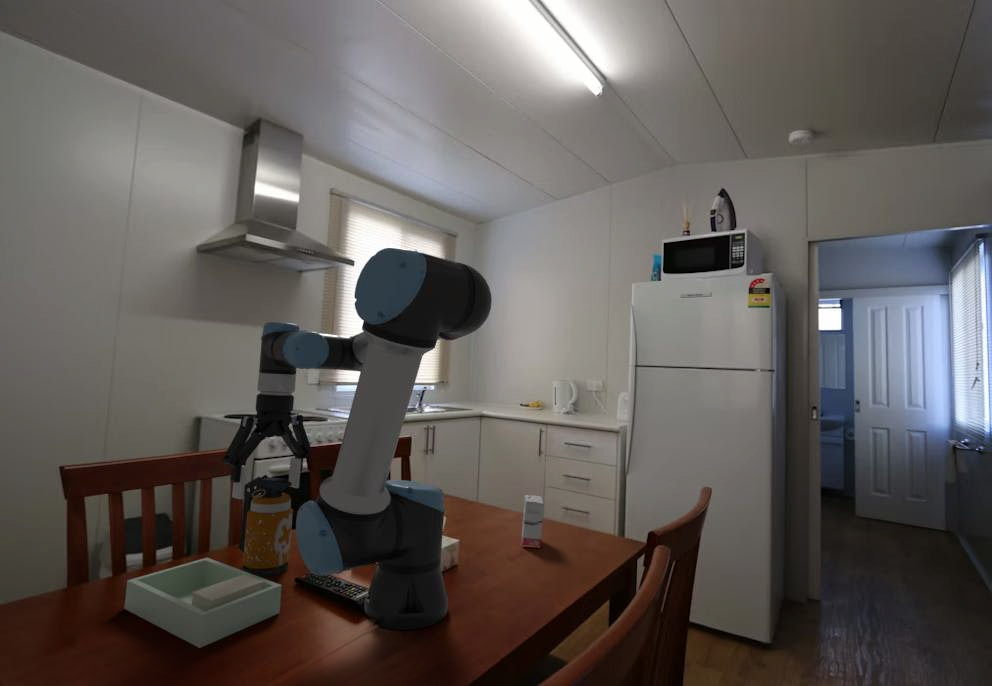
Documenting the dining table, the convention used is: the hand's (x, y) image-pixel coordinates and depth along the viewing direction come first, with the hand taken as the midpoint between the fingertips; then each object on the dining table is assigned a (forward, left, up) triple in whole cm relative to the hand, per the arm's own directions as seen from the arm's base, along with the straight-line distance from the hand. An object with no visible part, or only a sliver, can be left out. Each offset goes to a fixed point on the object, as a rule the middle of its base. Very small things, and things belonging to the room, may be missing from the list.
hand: (267, 492), depth 109 cm
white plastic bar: (-16, +18, -16) cm, 29 cm away
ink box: (-38, -54, -17) cm, 68 cm away
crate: (-9, +18, -17) cm, 26 cm away
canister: (0, 0, -17) cm, 17 cm away
